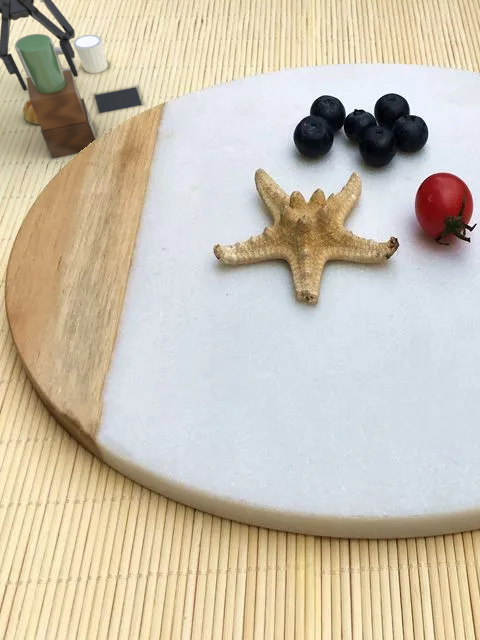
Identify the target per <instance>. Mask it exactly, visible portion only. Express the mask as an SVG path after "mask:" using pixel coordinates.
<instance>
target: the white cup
mask: <svg viewBox="0 0 480 640" xmlns="http://www.w3.org/2000/svg"><path fill="white" fill-rule="evenodd" d="M72 45H73V47H74V49H75V51H76V53H77V56H78V58H79V60H80V62H81V64H82V67H83V69H84V71H86V72H87V73H90V74H96V73H101V72H103V71H106V69H107V68H108V61H107V57H106V51H105V48H104V43H103V39H102V37H100V36H99V35H96V34H84V35H81V36H79V37H76V38H74V40H73V43H72Z"/></svg>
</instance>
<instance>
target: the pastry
mask: <svg viewBox="0 0 480 640" xmlns="http://www.w3.org/2000/svg"><path fill="white" fill-rule="evenodd" d="M22 117H23V119H24V120H25V121H26V122H28V123H30V124H34V125H40V123H39V120H38V118H37V116H36V114H35V111H34V109H33V107H32V105H31V102H30V99H28V100H27V101H25V103H24V105H23V107H22Z"/></svg>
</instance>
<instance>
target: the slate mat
mask: <svg viewBox="0 0 480 640" xmlns="http://www.w3.org/2000/svg"><path fill="white" fill-rule="evenodd" d="M94 97H95V102H96V106H97V109H98V114H102V113H107V112H113V111H118V110H123V109H129V108H134V107H139V106H142V105H143V104H142V101H141V98H140V94H139V91H138V88H137V87H130V88H125V89H119V90H115V91H109V92H103V93H99V94H94Z"/></svg>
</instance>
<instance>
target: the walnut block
mask: <svg viewBox="0 0 480 640" xmlns="http://www.w3.org/2000/svg"><path fill="white" fill-rule="evenodd" d="M62 72H63V74H64V77H65V80H66V86H65V87H64V88H63V89H61V90H59V91H57V92H54V93H41V92H38V91H37V90H36V89H35V87H34V85H33V82H32V80H31V78H30V77H29V78H28V77H26V79H25V80H26V86H27V92H28V98H29V100H30V102H31V105H32V107H33V109H34V111H35V114H36V116H37V118H38V120H39V123H40V124H39V127H40V132H41V135H42V137H43V140H44V142H45V144H46V146H47V149H48V150H49V154H50V155H51V158H52V159H58V158H62V157H66V156H71V155H75V154H80V153H79V152H80V151H81V150H83V149H84V148H85V147H87V146H88V145H89V144H90V143H92V142H93V141H94V140H96V139H97V134H96V131H95V127H94V123H93V120H92V118H91V115H90V112H89V110H88V107H87V103H86V101H85V99H84V98H82V96H81V94H80V90H79V88H78V86H77V83H76V80H75V77H74V76H73V75H72V72H71V70H68V71H62Z"/></svg>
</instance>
